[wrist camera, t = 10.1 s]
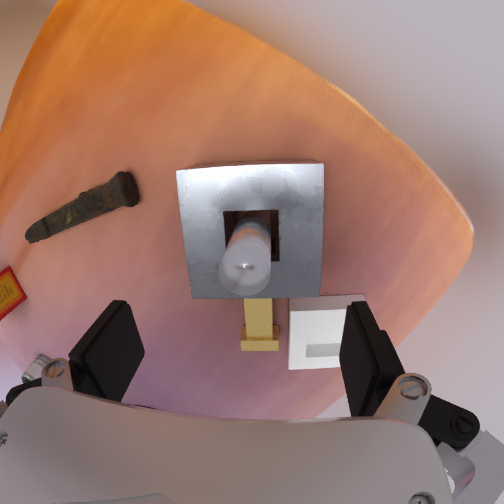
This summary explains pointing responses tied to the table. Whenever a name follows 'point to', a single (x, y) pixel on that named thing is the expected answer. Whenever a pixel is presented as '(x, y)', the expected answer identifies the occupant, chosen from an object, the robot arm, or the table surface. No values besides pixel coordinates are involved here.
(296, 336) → the tray
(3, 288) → the baking soda box
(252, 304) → the key
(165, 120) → the table surface
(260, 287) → the grey cylindrical peg
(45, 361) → the camera lens
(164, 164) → the table surface
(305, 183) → the socket
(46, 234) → the hand tool
